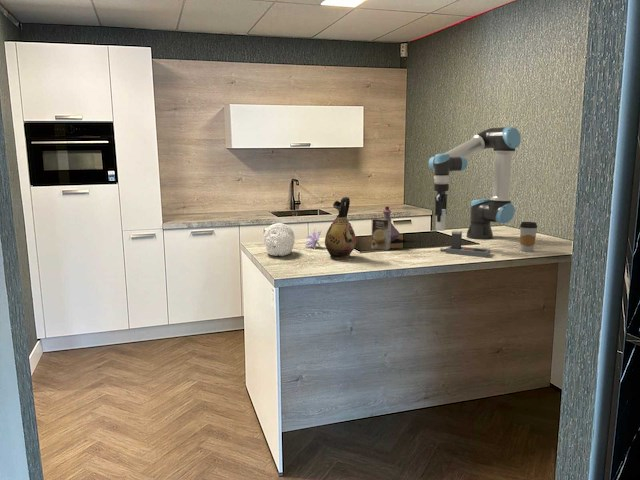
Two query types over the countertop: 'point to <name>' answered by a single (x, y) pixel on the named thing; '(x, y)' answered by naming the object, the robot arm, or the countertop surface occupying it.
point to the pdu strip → (467, 251)
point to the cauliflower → (279, 239)
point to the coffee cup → (527, 236)
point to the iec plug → (442, 220)
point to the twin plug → (456, 240)
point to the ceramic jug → (340, 233)
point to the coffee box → (381, 233)
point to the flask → (393, 230)
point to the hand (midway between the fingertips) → (440, 226)
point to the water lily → (313, 239)
